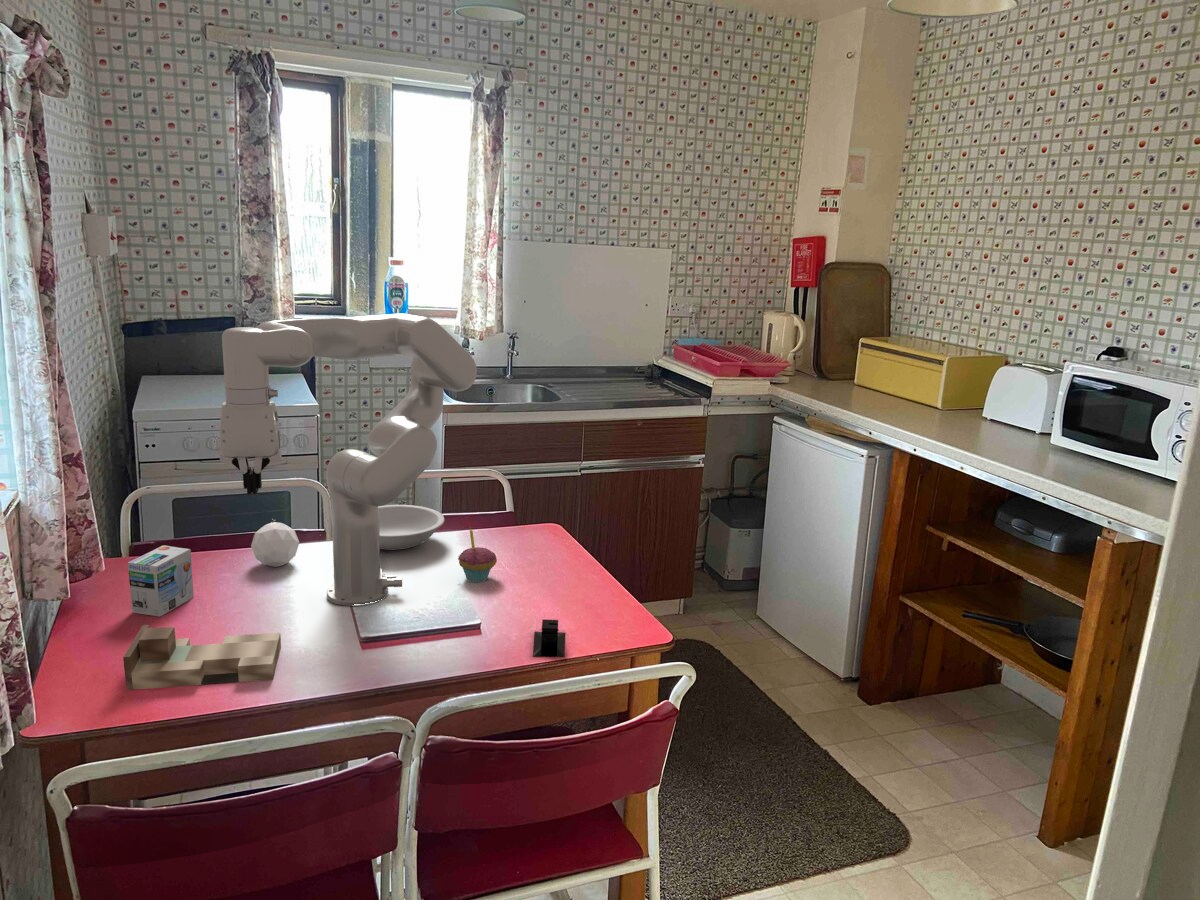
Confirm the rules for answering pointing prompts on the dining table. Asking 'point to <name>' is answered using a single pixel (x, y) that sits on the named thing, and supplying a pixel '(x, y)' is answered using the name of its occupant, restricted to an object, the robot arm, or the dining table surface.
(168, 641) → the walnut block
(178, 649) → the track
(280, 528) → the ornament
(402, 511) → the soup bowl
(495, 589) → the dining table surface
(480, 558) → the cupcake
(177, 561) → the light bulb box
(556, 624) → the build plate
